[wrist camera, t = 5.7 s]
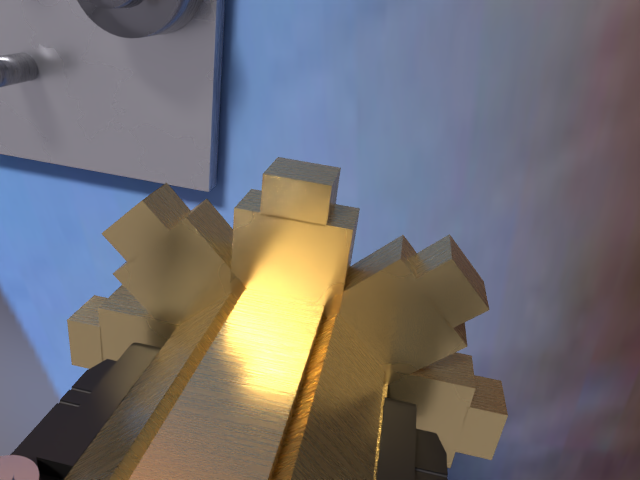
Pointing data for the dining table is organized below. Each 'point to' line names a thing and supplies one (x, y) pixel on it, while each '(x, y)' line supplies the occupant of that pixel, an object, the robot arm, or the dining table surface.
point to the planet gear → (279, 340)
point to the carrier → (114, 86)
